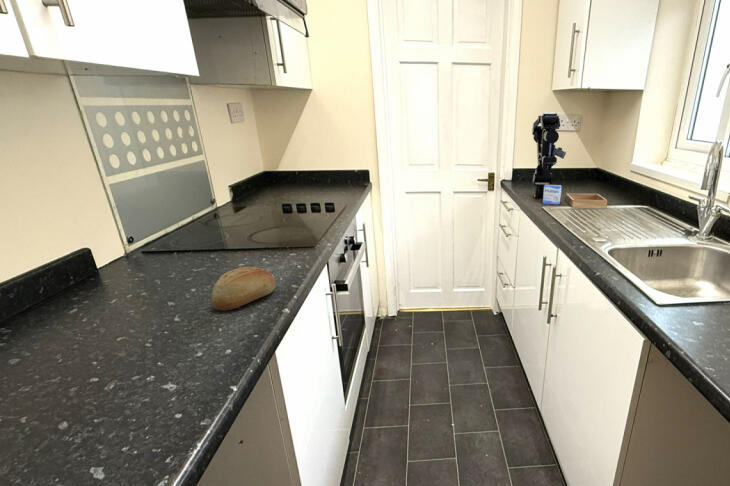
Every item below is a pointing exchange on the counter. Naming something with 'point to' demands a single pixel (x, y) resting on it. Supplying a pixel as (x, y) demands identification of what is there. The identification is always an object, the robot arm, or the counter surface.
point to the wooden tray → (586, 200)
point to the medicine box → (552, 194)
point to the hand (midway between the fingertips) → (545, 176)
